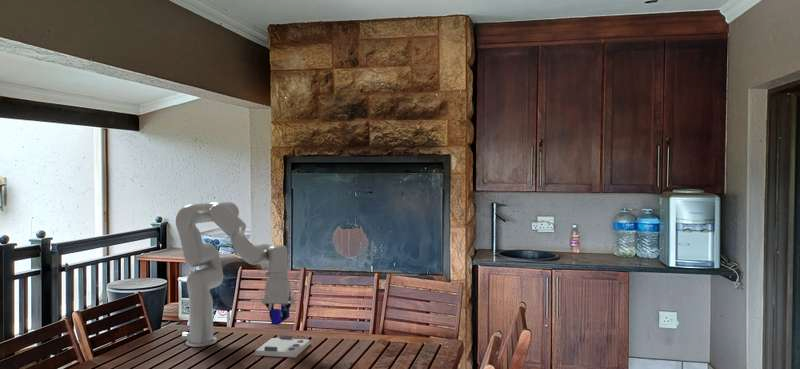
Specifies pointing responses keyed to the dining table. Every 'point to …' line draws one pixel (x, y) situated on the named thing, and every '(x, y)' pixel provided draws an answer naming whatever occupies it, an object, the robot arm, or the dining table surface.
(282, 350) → the white square board
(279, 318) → the cable clip
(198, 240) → the robot arm
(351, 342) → the dining table surface
